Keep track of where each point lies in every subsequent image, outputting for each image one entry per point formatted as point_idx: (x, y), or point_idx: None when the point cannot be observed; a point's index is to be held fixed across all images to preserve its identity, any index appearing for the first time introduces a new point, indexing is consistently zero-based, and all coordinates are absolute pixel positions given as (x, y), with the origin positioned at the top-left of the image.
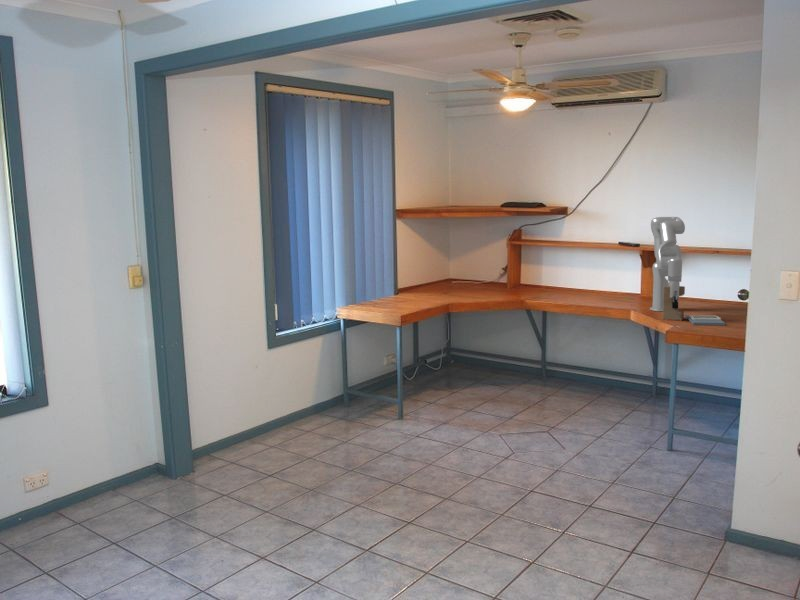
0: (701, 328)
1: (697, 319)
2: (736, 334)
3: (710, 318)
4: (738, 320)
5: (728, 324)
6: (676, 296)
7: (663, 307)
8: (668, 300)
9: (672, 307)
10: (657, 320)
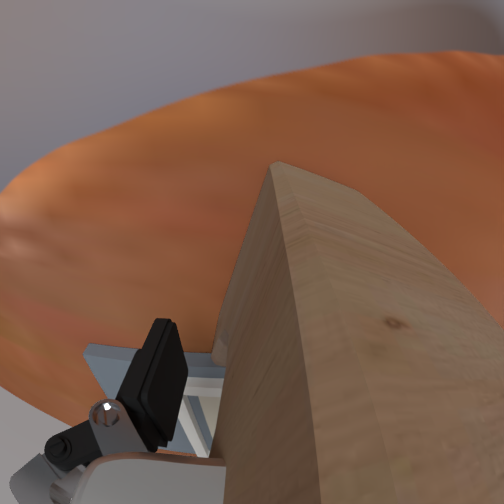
0: (32, 347)
1: None
2: (19, 396)
3: (189, 439)
4: None
5: None
6: (21, 478)
7: (280, 195)
8: (241, 373)
9: (154, 325)
10: (199, 101)
